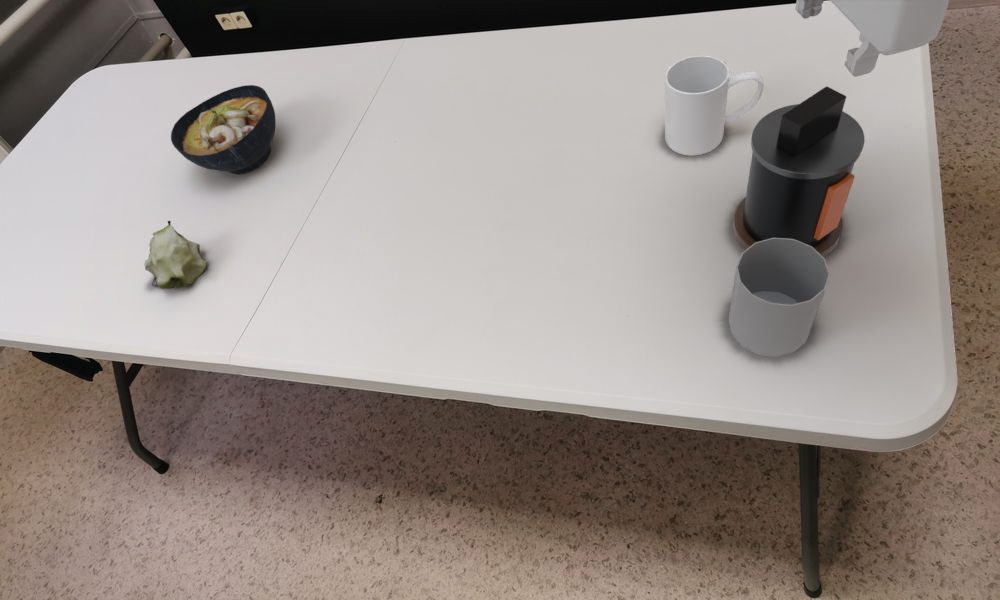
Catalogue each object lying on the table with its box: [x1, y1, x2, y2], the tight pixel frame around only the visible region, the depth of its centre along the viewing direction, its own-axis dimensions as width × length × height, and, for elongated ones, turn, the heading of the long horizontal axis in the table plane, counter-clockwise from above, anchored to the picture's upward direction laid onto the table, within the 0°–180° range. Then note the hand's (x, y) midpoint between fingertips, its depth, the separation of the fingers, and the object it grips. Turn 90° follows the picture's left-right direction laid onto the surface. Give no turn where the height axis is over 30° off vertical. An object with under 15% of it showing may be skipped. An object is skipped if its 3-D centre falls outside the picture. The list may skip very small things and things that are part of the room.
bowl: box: [170, 84, 277, 175], centre depth 104 cm, size 17×17×10 cm
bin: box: [743, 86, 866, 247], centre depth 67 cm, size 11×11×17 cm
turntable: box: [732, 196, 844, 258], centre depth 75 cm, size 12×12×2 cm
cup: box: [727, 238, 831, 358], centre depth 64 cm, size 8×8×10 cm
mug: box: [664, 55, 764, 157], centre depth 82 cm, size 12×8×10 cm, turn 81°
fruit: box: [143, 220, 207, 290], centre depth 92 cm, size 9×9×8 cm
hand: (831, 40), depth 55 cm, fingers open, 8 cm apart
